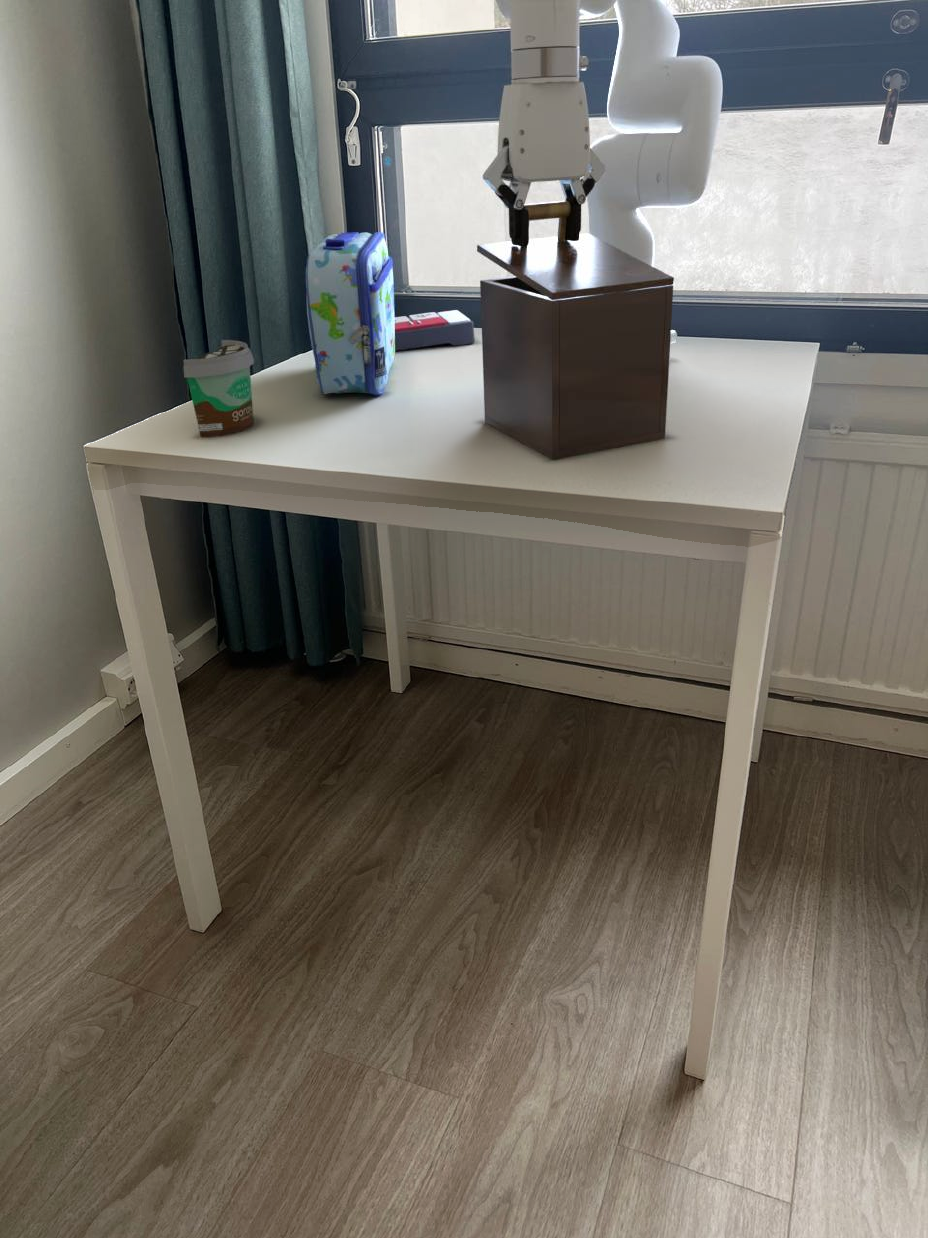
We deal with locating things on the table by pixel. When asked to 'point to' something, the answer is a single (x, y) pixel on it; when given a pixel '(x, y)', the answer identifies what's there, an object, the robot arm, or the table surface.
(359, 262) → the lunch box
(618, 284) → the chest lid
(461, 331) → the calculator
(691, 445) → the table surface
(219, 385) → the food container
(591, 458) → the table surface
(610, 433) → the chest
